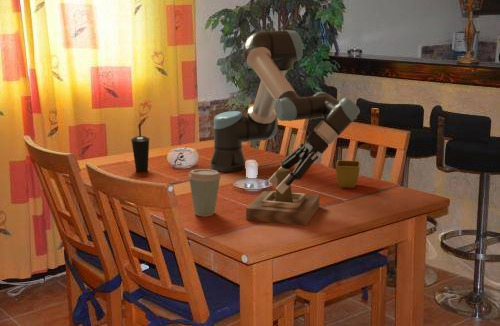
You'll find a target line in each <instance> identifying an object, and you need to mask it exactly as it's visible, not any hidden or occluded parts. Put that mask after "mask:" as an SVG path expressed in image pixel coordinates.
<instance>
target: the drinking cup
mask: <svg viewBox="0 0 500 326" xmlns="http://www.w3.org/2000/svg"><path fill="white" fill-rule="evenodd" d="M141 126H142V125H141V123H138V134H139V135H138V136H137V135H136V136H134V137H133V138H131V139H130V142H131V145H132V152H133V159H134V167H135V172H136V173H140V172H142V173H147V172H148V169H149V151H150V140H151V139H150V138H149V137H147V136H144V135H142V131H141V129H142V128H141Z"/></svg>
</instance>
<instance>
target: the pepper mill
mask: <svg viewBox="0 0 500 326" xmlns="http://www.w3.org/2000/svg"><path fill="white" fill-rule="evenodd" d="M278 169H279V168H278ZM278 169H277V170H276V171H277V172H276V171H275V172H276V178H277V179H278V180H277V183H276V187H277V186H278V185H279V184H280V183H281V182H282V181H283V180H284V179H285V178H286V177H287V176H288V175H289V173H290V172H292V171H291V170H290V168H289V169H279V170H278ZM291 176H292V175H291ZM275 189H276V188H275ZM275 191H276V196H275V201H278V202H289V203H292V202H293V199H292V193H293V192H292V184H291V185H290V186H289V187H288V188H287V189H286V191H285V192H284V193H283V194H281V193H280V192H279V191H278V190H277V189H276V190H275Z"/></svg>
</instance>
